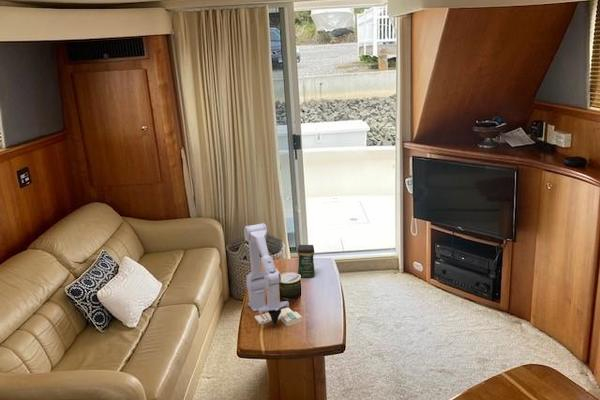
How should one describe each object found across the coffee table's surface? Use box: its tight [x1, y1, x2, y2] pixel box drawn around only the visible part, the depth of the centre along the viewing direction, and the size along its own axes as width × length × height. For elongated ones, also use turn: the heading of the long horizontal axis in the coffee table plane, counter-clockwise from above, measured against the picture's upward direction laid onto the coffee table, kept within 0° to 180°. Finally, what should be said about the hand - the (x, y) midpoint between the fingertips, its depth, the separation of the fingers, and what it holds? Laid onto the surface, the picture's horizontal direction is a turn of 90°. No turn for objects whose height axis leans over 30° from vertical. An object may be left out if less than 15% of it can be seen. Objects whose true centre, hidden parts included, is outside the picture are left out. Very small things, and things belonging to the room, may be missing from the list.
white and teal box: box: [280, 311, 303, 327], centre depth 231 cm, size 6×8×4 cm
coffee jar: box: [297, 244, 316, 279], centre depth 279 cm, size 10×8×19 cm
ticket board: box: [254, 306, 294, 325], centre depth 236 cm, size 7×18×1 cm, turn 116°
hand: (274, 323), depth 228 cm, fingers closed
